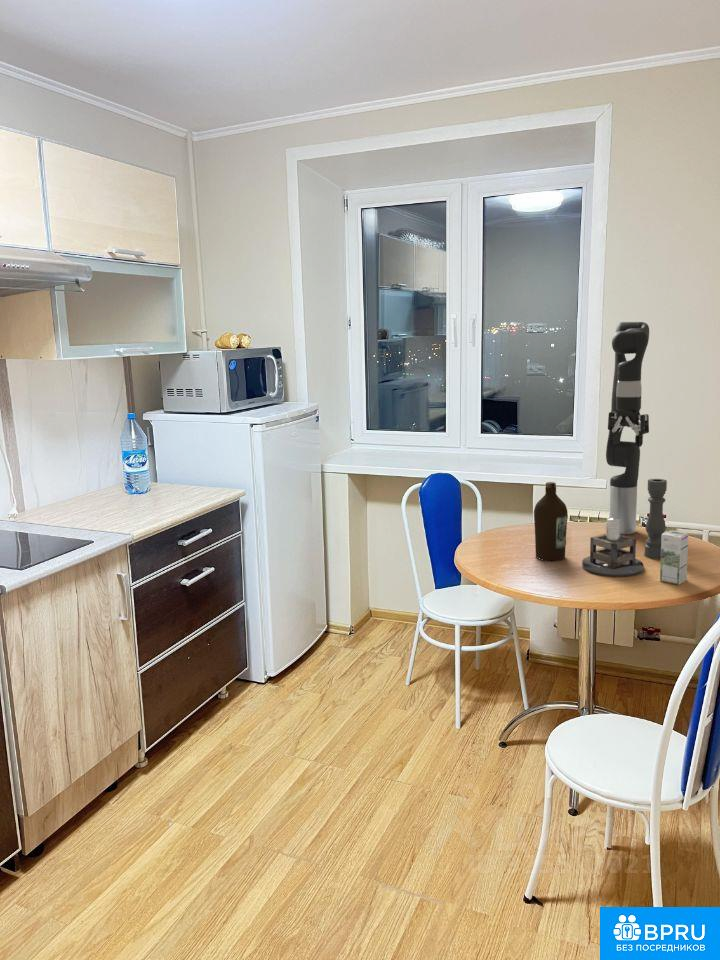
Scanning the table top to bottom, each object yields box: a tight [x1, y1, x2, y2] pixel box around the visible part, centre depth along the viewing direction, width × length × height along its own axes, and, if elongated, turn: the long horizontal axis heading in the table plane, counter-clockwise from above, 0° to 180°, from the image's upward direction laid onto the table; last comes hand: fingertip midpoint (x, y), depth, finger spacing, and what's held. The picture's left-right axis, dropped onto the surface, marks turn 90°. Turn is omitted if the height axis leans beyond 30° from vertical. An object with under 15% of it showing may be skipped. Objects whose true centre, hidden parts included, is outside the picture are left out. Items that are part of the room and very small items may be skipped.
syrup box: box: [659, 529, 689, 586], centre depth 208 cm, size 6×6×14 cm
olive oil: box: [533, 481, 568, 562], centre depth 234 cm, size 11×11×25 cm
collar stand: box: [581, 533, 644, 578], centre depth 222 cm, size 18×18×10 cm
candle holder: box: [644, 478, 668, 560], centre depth 230 cm, size 6×6×25 cm
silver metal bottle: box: [605, 517, 621, 564], centre depth 221 cm, size 4×4×14 cm
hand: (627, 445), depth 231 cm, fingers open, 8 cm apart
